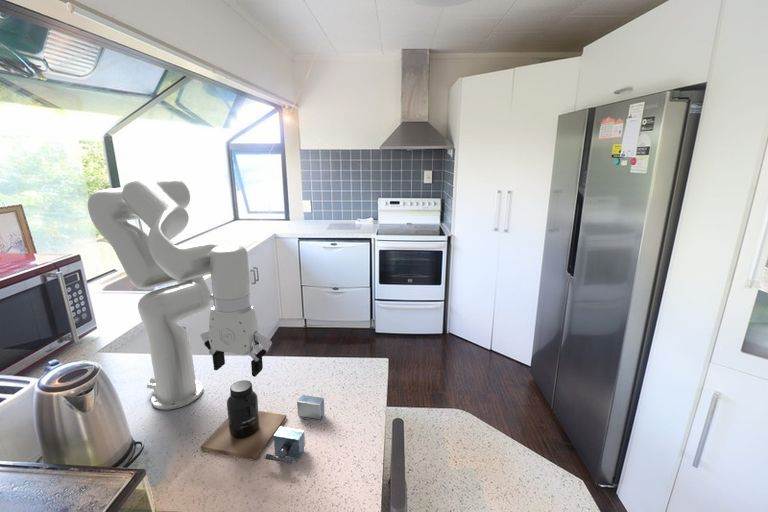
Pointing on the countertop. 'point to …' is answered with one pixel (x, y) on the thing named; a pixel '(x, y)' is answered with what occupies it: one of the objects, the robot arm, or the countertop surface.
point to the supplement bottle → (242, 410)
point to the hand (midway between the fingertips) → (238, 370)
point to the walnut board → (245, 446)
